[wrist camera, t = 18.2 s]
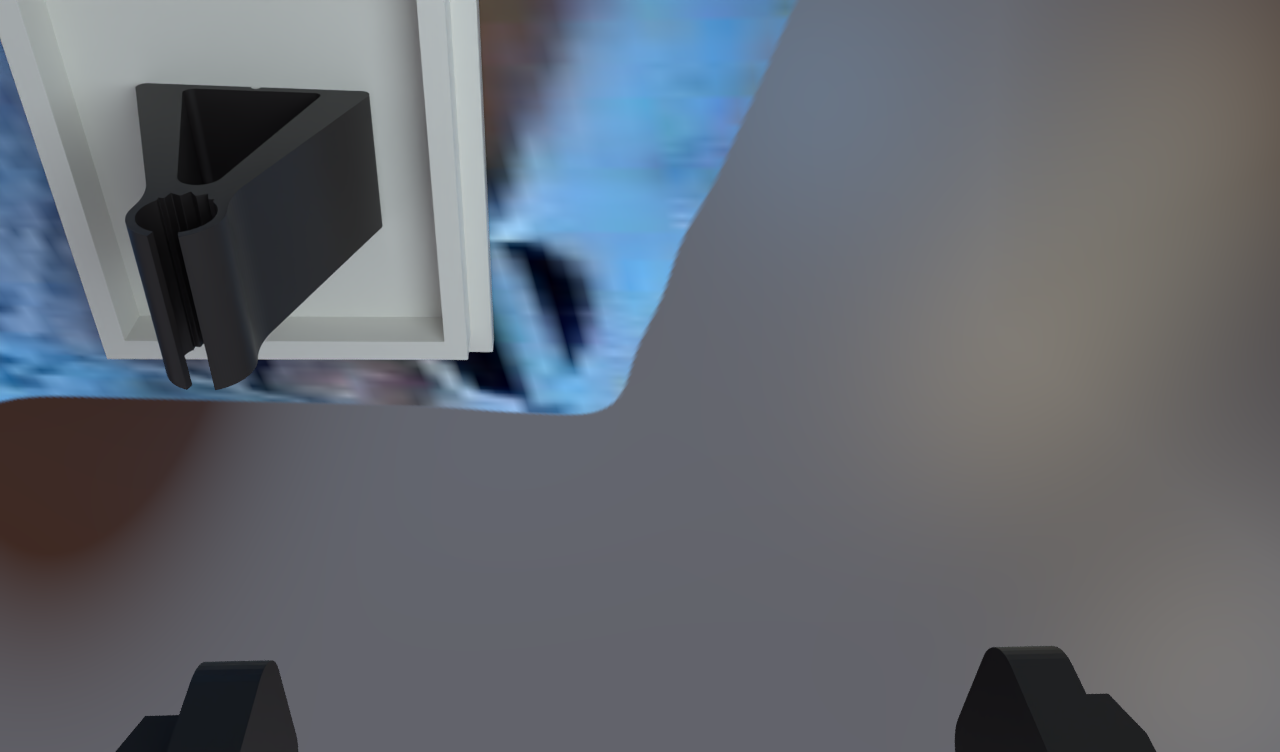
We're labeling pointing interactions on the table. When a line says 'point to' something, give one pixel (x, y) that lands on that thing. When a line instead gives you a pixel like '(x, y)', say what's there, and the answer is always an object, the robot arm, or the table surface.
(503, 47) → the table surface
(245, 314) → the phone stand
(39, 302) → the table surface
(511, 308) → the table surface
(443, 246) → the shallow square tray
